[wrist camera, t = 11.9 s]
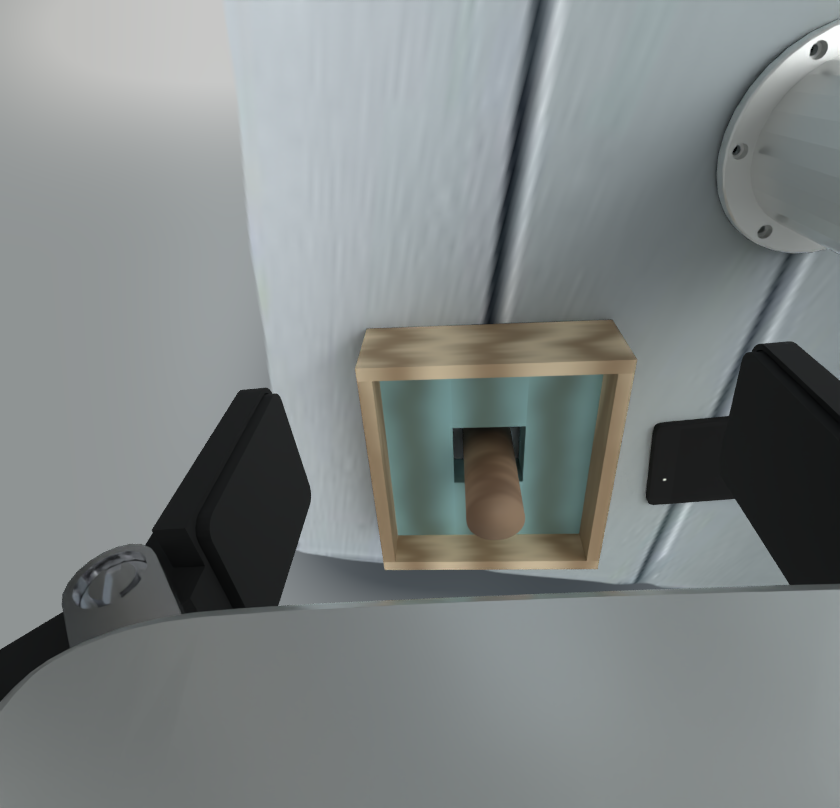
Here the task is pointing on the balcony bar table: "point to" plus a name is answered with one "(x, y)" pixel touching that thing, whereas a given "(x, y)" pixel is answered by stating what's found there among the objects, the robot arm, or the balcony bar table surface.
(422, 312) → the balcony bar table surface
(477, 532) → the peg
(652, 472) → the cell phone
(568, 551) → the box
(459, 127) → the balcony bar table surface
